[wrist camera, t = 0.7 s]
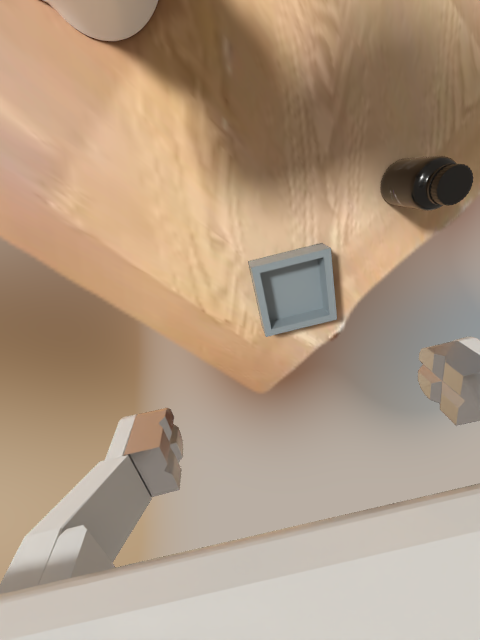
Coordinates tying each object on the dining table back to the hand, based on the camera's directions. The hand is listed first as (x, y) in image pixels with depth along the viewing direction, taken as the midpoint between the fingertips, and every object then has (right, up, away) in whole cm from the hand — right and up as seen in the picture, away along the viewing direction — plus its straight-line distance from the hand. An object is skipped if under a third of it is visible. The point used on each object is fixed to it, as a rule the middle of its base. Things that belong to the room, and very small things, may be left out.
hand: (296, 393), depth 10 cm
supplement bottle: (+24, +25, +39) cm, 52 cm away
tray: (+7, +8, +44) cm, 46 cm away
